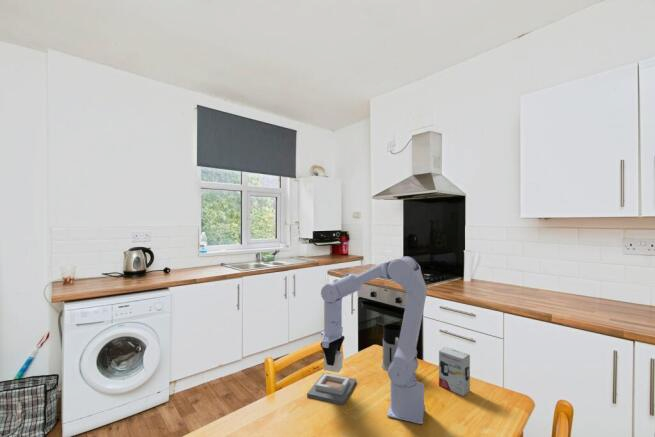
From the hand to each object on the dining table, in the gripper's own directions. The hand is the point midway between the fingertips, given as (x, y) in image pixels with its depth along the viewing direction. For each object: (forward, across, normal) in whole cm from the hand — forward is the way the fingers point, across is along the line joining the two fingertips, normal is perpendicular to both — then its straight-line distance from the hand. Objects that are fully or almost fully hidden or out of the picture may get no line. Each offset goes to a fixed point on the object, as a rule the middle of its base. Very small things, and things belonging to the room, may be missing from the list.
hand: (332, 361), depth 98 cm
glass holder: (+9, -20, +17) cm, 28 cm away
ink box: (+9, -15, +37) cm, 41 cm away
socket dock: (+9, 0, 0) cm, 9 cm away
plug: (+2, 0, 0) cm, 2 cm away
